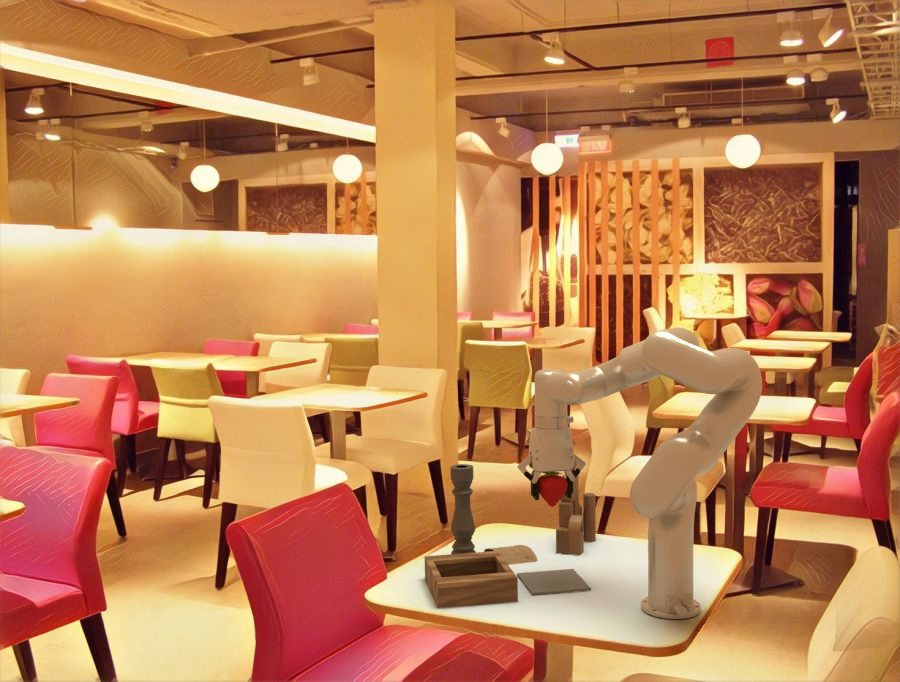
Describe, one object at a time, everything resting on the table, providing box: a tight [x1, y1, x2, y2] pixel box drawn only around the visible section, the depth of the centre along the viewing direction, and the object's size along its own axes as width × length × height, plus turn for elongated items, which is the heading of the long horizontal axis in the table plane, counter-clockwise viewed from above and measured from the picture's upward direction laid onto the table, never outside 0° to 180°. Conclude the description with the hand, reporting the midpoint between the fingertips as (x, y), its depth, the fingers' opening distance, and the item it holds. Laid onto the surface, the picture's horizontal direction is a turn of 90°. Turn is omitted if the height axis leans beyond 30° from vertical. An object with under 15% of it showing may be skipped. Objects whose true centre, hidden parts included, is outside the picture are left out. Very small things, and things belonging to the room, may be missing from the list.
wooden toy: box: [555, 461, 597, 556], centre depth 253 cm, size 16×7×25 cm, turn 156°
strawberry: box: [537, 471, 568, 508], centre depth 224 cm, size 6×8×10 cm
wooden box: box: [424, 550, 519, 608], centre depth 222 cm, size 20×18×6 cm
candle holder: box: [449, 463, 477, 554], centre depth 239 cm, size 6×6×25 cm
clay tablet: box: [483, 544, 538, 566], centre depth 246 cm, size 14×10×3 cm
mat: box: [516, 568, 592, 596], centre depth 226 cm, size 14×14×1 cm
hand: (552, 497), depth 224 cm, fingers closed on strawberry, 7 cm apart
